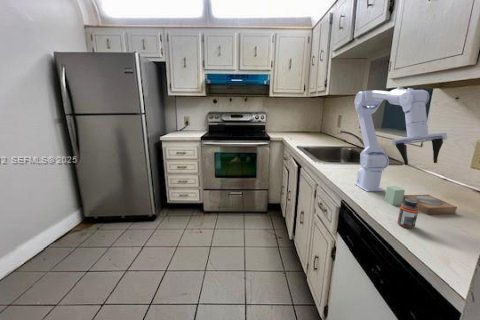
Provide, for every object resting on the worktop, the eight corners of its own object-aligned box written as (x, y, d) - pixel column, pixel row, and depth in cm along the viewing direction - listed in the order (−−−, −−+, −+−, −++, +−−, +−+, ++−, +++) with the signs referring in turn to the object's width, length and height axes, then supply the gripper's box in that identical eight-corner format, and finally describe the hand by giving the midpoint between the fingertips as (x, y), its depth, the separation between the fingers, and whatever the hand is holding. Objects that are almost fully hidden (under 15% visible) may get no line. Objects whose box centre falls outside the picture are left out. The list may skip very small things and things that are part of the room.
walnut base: (401, 201, 89) (402, 194, 88) (426, 200, 90) (428, 194, 89) (427, 214, 78) (428, 207, 78) (455, 213, 79) (457, 206, 79)
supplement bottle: (397, 220, 74) (403, 196, 72) (414, 225, 71) (420, 200, 69) (396, 225, 71) (401, 200, 68) (414, 230, 68) (420, 204, 66)
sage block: (384, 200, 89) (387, 186, 88) (393, 200, 89) (396, 186, 88) (392, 205, 85) (395, 190, 84) (401, 204, 86) (404, 189, 84)
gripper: (388, 126, 80) (392, 164, 78) (443, 116, 70) (449, 161, 68) (393, 129, 85) (396, 165, 83) (445, 121, 74) (450, 162, 73)
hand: (420, 163), depth 76 cm, fingers open, 7 cm apart
